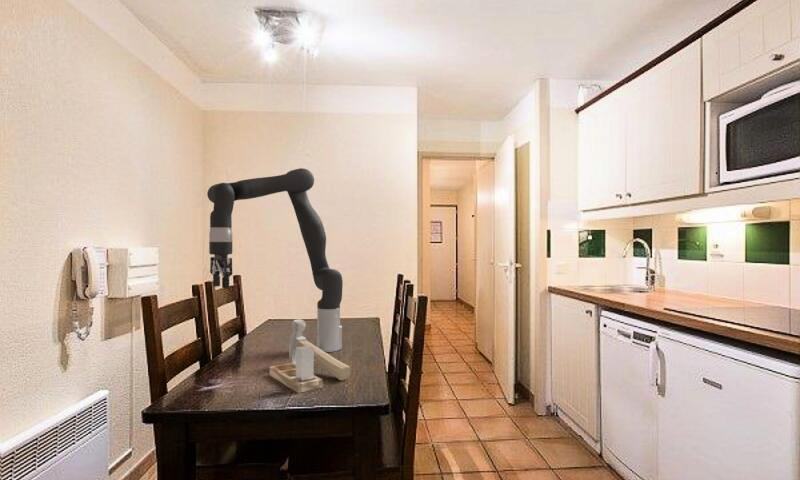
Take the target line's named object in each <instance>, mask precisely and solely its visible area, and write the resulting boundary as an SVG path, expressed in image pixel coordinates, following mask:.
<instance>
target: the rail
mask: <svg viewBox="0 0 800 480" xmlns="http://www.w3.org/2000/svg"><path fill="white" fill-rule="evenodd" d="M269 376H270V377H272V378H273V379H274V380H276V381H278V382H280V383H281V384H282V385H285V386H286V387H288V388H289V389H291V390H292V391H295V392H296V393H298V394H300V393H304V392H309V391H315V390H318V389H323V383H324V382H323V381H324V380H323V378H320V376H319V377H318V376H316V375H315V374H314V380H311V381H306V382H301V383H300V382H298V381H297V380H296V365H295V364H293V363H291V362H289V363H284V364H279V365H273V366H269Z"/></svg>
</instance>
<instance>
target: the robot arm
mask: <svg viewBox="0 0 800 480" xmlns="http://www.w3.org/2000/svg"><path fill="white" fill-rule="evenodd" d="M314 184H315V177H314V174H313V173H312V172H311V171H310V170H309V169H307V168H302V167H301V168H295V169H293V170H289V171H288V172H286V173H284V174H279V175H273V176H265V177H264V176H263V177H255V178H248V179H243V180H238V181H235V182H220V183H217V184H213V185H212V186H210V187H209V188H208V190H207V191H206V192H207V193H206V196H207V198H208V200H209V201H210V202H211V203H213V210H212V211H211V213H210V214H209V227H210V228H209V239H208V240H209V242H208V243H209V244H208V245H209V246H208V247H209V248H208V252H209V255H214V256H210V264H209V266H210V268H209V273H210V274H211V275H212V286H213V287H220V286H221V288H222V289H229V288H230V278H231V276H233V258H232V257H229V256H228V255H232V254H233V229H232V227H233V226H232V221H233V219H232V214H233V210H234V203H235V201H241V200H242V201H243V200H244V201H245V200H250V199H256V198H261V197H264V196H269V195H273V194H276V193H277V194H278V193H282V192H287V194H288V197H289V199H290V202H291V203H292V204H291V205H292V207H293V209H294V213H295V217H296V220H297V222H298V226H299V229H300V234H301V236H302V237H301V238H302V240H303V243H304V245H305V249H306V252H307V256H308V260H309V263H310V267H311V271H312V273H311V274H312V277H313V282H314V285H315V287H316V288H317V289H318V290H320V291H321V292H322V293H321V298H320V299H319V300H318V301H317V305H316V308H317V310H316V311H317V313H316V315H317V316H316V317H317V319H316V323H317V326H316V328H317V329H316V331H317V333H316V338H317V339H316V347H318V348H319V349H321V350H323V351H324V352H326V353H331V352H337V351H339V350H342V348H343V347H342V345H343V329H342V328H343V326H342V325H341V303H342V300H343V287H344V286H343V277H342V276H343V275H342V274H341V272H340V271H339V270H338V269H333V268H330V266H329V263H328V261H327V256H326V248H327V235H326V230H325V227H324V225H323V221H322V219H321V217H320V215H319V214H318V213H317V212H316V210H315V209H314V208H313V206H312V204H311V202H310V200H309V196H308V194H307V192H308V191H309V190H311V189H312V187H313V186H314Z"/></svg>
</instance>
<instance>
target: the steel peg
mask: <svg viewBox="0 0 800 480" xmlns="http://www.w3.org/2000/svg"><path fill="white" fill-rule="evenodd" d="M314 363H315V362H314V348H312V347H310V346H302V347H296V380H297V381H298V382H300V383H301V382H306V381H311V380H314V375H315V373H314V372H315V371H314V370H315V368H314V366H315V365H314Z"/></svg>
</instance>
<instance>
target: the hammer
mask: <svg viewBox="0 0 800 480" xmlns="http://www.w3.org/2000/svg"><path fill="white" fill-rule="evenodd" d="M306 327H307V324H306V322H305V320H303V319H302V318H301V319H300V318H298V319H294V320H293V321H292V323H291V329H292V333H290V336H289V340H288V357H289V360H290V363H293V364H295V365H296V347H302V346H310V347H312V348H314V363H315V364H317V365H318V366H319V367H320V368H322V369H323V370H325V371H326V372H328V373H329V374H331V375H332V376H333V377H335V378H336V379H338V380H339V381H345V380H348V379H349V376H350V374H351V367H350V365H348V364H345V363H344V362H343V361H342V362H341V361H340V360H338V359H336V358H335V357H333V356H332V355H331V354H330V353H329V354H328V352H324V351H323V350H321V349H319V348H318V347H317V345H314V344H313V343H311V342H310V341H309V340H307V338H306V337H305V336H303V332H304V331H305V330H306Z"/></svg>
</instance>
